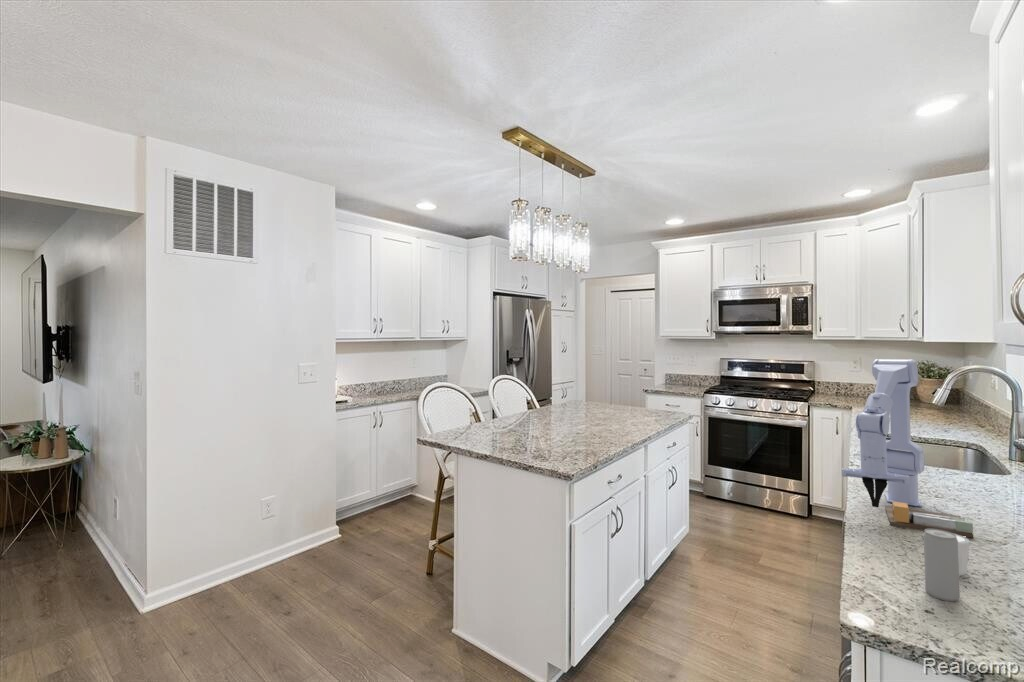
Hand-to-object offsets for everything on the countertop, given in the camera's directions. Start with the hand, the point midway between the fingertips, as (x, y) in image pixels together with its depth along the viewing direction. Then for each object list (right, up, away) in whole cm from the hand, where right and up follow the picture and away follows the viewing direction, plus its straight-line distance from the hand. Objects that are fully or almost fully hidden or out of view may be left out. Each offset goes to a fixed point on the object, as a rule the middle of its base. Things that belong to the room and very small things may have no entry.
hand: (875, 505), depth 127 cm
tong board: (+12, -4, -2) cm, 13 cm away
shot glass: (-6, -4, -28) cm, 29 cm away
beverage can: (-18, -4, -38) cm, 42 cm away
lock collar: (+4, -2, -3) cm, 6 cm away
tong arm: (+11, -2, -6) cm, 13 cm away
